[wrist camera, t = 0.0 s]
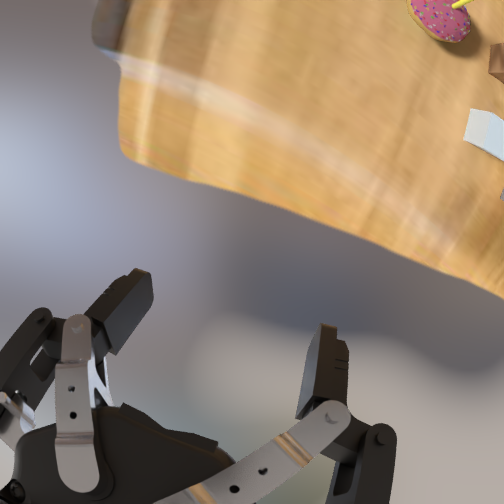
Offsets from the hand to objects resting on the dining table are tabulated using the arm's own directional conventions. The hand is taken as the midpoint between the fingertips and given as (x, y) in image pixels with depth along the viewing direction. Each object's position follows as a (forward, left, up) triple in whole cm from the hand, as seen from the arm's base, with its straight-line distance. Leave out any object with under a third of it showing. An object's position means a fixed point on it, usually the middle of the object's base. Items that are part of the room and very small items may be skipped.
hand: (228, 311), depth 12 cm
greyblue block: (-13, +25, -29) cm, 41 cm away
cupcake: (-26, +14, -30) cm, 42 cm away
